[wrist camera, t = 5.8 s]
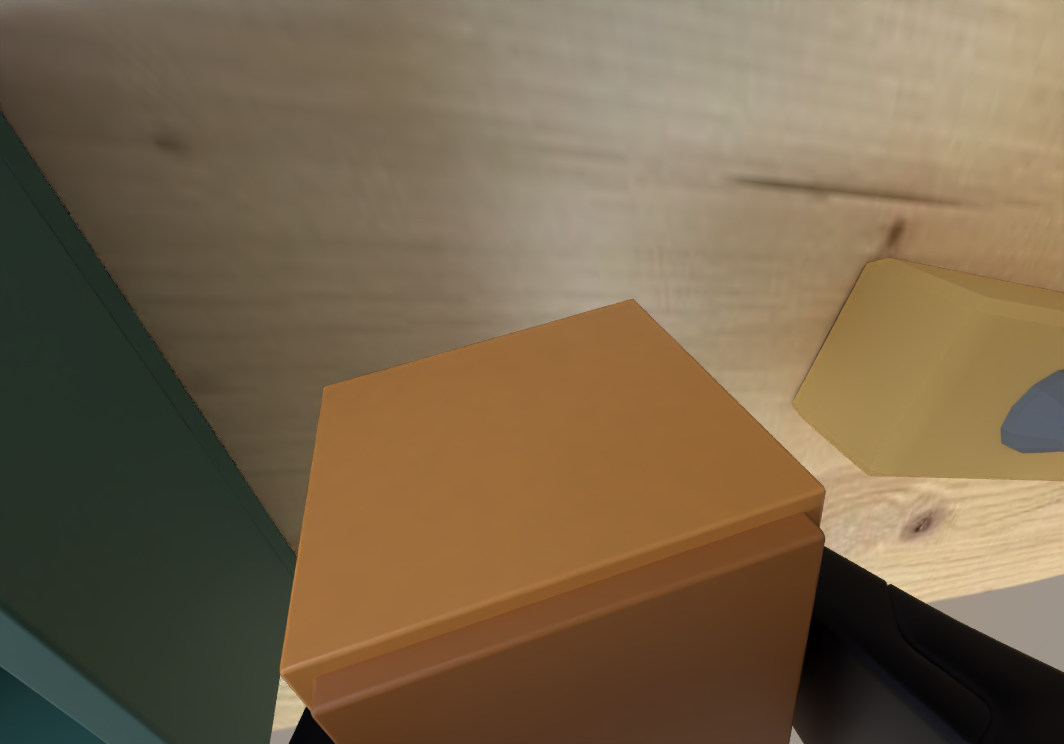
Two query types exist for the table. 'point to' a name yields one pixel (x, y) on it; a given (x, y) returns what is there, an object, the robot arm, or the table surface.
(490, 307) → the table surface
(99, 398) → the open green storage bin
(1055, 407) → the rubber stamp
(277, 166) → the table surface
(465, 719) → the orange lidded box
